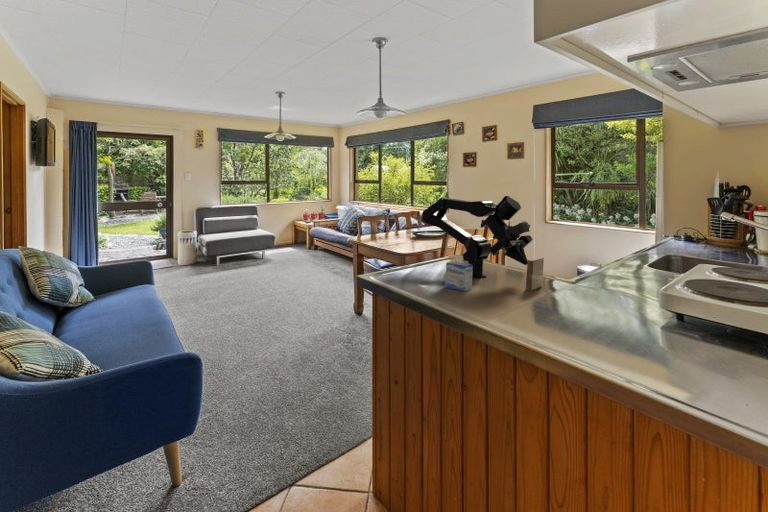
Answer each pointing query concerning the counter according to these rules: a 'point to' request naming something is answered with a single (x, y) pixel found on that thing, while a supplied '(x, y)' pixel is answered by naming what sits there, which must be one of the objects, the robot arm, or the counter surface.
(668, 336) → the counter surface
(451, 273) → the medicine box
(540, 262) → the walnut tile
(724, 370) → the counter surface
